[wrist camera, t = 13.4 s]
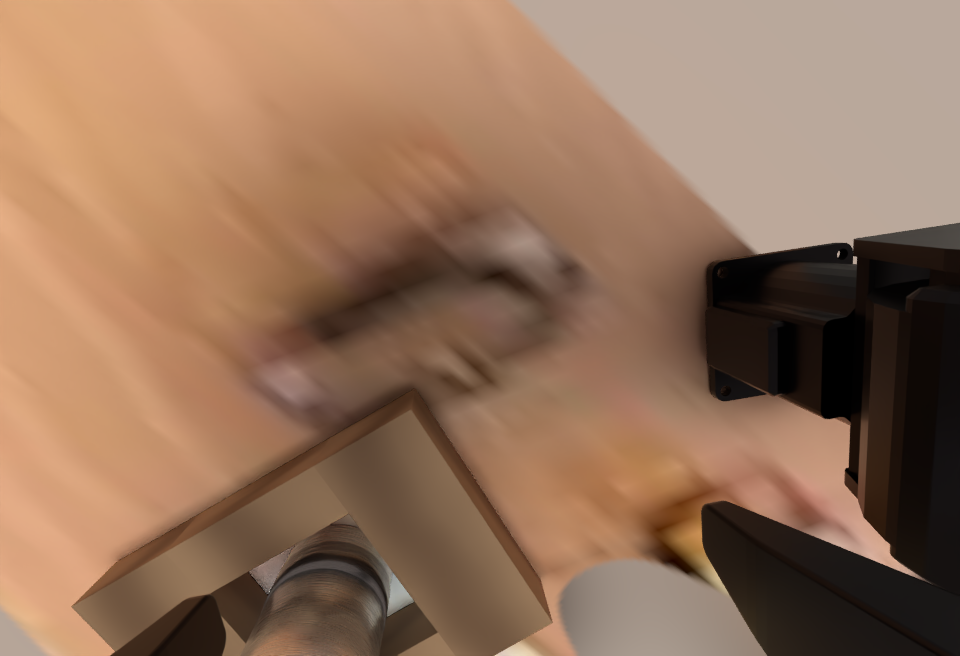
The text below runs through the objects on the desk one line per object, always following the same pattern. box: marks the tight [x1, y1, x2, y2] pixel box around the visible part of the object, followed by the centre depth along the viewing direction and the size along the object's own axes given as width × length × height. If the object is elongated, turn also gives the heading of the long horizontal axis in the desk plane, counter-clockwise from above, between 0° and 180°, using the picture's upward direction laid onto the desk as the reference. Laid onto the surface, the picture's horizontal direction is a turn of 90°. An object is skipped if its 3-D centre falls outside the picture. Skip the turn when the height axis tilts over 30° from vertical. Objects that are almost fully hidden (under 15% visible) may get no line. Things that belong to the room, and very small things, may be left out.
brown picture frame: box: [72, 389, 553, 656], centre depth 20 cm, size 16×12×2 cm
